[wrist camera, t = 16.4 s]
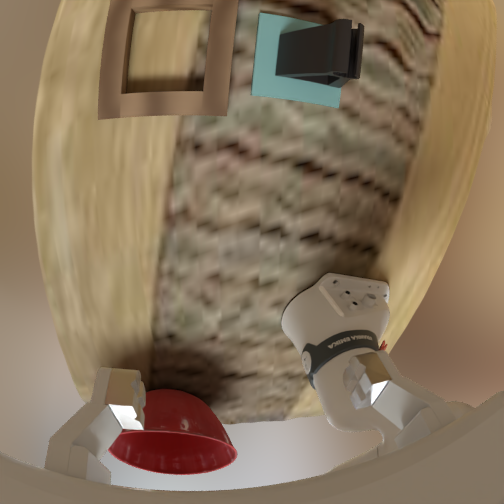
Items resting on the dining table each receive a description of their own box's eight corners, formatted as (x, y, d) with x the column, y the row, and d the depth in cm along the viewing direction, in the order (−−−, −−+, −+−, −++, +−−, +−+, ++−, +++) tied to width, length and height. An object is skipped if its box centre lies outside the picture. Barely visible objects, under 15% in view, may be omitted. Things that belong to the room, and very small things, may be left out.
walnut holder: (237, -6, 25) (240, -13, 23) (225, 115, 33) (226, 116, 31) (117, -2, 22) (112, -8, 20) (104, 118, 30) (97, 119, 28)
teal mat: (343, 32, 29) (345, 31, 28) (336, 107, 34) (338, 108, 34) (258, 14, 27) (260, 12, 26) (250, 95, 32) (251, 95, 32)
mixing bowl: (106, 359, 50) (93, 422, 37) (240, 373, 57) (251, 435, 44) (120, 420, 62) (116, 467, 49) (219, 429, 70) (225, 475, 56)
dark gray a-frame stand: (274, 75, 31) (306, 62, 20) (279, 34, 28) (312, 7, 18) (338, 88, 32) (389, 87, 22) (342, 50, 30) (394, 36, 19)
